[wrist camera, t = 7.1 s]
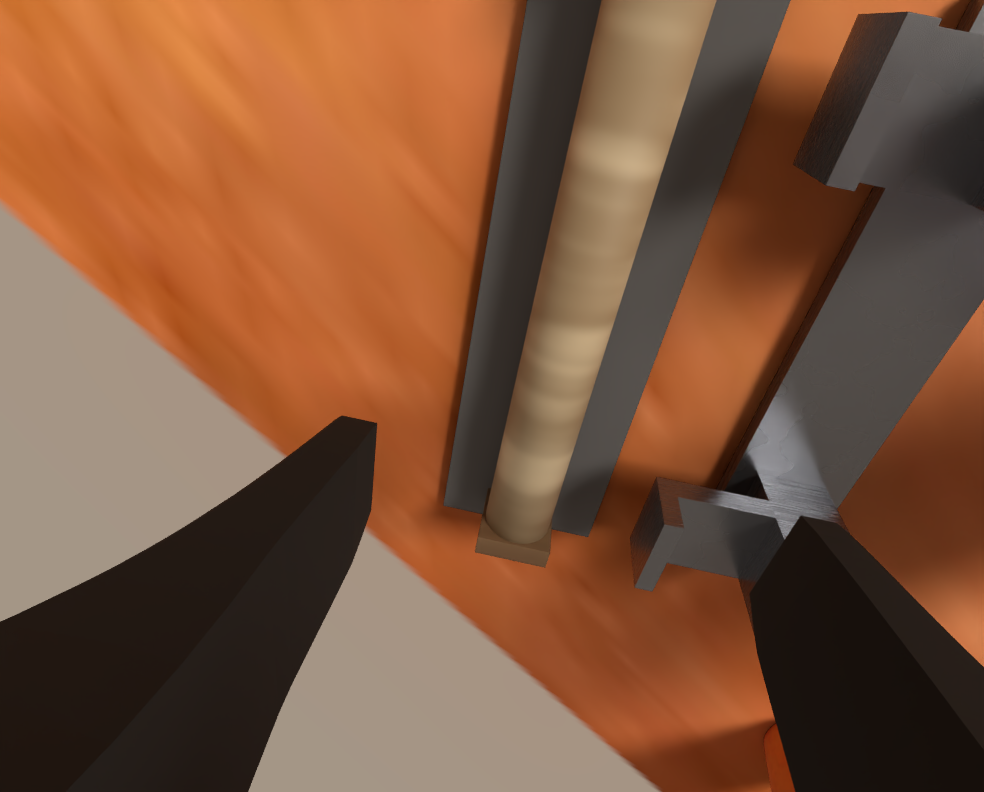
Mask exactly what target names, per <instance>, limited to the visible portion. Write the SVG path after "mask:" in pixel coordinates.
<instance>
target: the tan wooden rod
mask: <svg viewBox="0 0 984 792" xmlns="http://www.w3.org/2000/svg"><path fill="white" fill-rule="evenodd" d="M715 4H716V0H602V1H601V5H600V10H599V14H598V19H597V23H596V27H595V32H594V36H593V41H592V45H591V49H590V54H589V58H588V63H587V67H586V72H585V76H584V80H583V85H582V89H581V94H580V98H579V103H578V107H577V111H576V116H575V120H574V125H573V129H572V134H571V138H570V142H569V147H568V151H567V156H566V160H565V165H564V169H563V173H562V178H561V182H560V187H559V191H558V196H557V200H556V204H555V209H554V213H553V218H552V222H551V227H550V231H549V235H548V240H547V244H546V249H545V253H544V258H543V262H542V266H541V271H540V275H539V280H538V284H537V289H536V293H535V297H534V302H533V306H532V311H531V315H530V319H529V324H528V328H527V333H526V337H525V342H524V346H523V350H522V355H521V359H520V364H519V368H518V373H517V377H516V381H515V386H514V390H513V395H512V399H511V404H510V408H509V412H508V417H507V421H506V426H505V430H504V435H503V439H502V443H501V448H500V452H499V457H498V461H497V466H496V470H495V474H494V479H493V483H492V488H488V491H487V496H486V500H485V505H484V510H483V515H482V519H481V524H480V529H479V534H478V539H477V544H476V549H475V552H476V553H481V554H486V555H490V556H495V557H499V558H504V559H508V560H513V561H517V562H522V563H526V564H531V565H535V566H540V567H544V568H545V566H546V563H547V560H548V557H549V554H550V545H551V528H552V516H553V513H554V510H555V507H556V504H557V500H558V497H559V494H560V491H561V488H562V485H563V482H564V478H565V475H566V472H567V469H568V466H569V463H570V460H571V456H572V453H573V450H574V447H575V444H576V441H577V438H578V434H579V431H580V428H581V425H582V422H583V419H584V416H585V412H586V409H587V406H588V403H589V400H590V397H591V394H592V390H593V387H594V384H595V381H596V378H597V375H598V372H599V368H600V365H601V362H602V359H603V356H604V353H605V350H606V346H607V343H608V340H609V337H610V334H611V331H612V327H613V324H614V321H615V318H616V315H617V312H618V309H619V305H620V302H621V299H622V296H623V293H624V290H625V287H626V283H627V280H628V277H629V274H630V271H631V268H632V265H633V261H634V258H635V255H636V252H637V249H638V246H639V243H640V239H641V236H642V233H643V230H644V227H645V224H646V221H647V217H648V214H649V211H650V208H651V205H652V202H653V199H654V195H655V192H656V189H657V186H658V183H659V180H660V177H661V173H662V170H663V167H664V164H665V161H666V158H667V155H668V151H669V148H670V145H671V142H672V139H673V136H674V133H675V129H676V126H677V123H678V120H679V117H680V114H681V111H682V107H683V104H684V101H685V98H686V95H687V92H688V89H689V85H690V82H691V79H692V76H693V73H694V70H695V66H696V63H697V60H698V57H699V54H700V51H701V48H702V44H703V41H704V38H705V35H706V32H707V29H708V26H709V22H710V19H711V16H712V13H713V10H714V7H715Z"/></svg>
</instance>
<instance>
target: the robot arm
mask: <svg viewBox="0 0 984 792" xmlns="http://www.w3.org/2000/svg"><path fill="white" fill-rule="evenodd" d="M376 433H377V423H374V422H369V421H365V420H360V419H356V418H351V417H346V416H341V417H339V418H337V419H336V420H334V421H333V422H332V423H330V424H329V425H328V426H326V427H325V428H324V429H323V430H321V431H320V432H319V433H318V434H316V435H315V436H314V437H312V438H311V439H310V440H309V441H307V442H306V443H305V444H303V445H302V446H301V447H299V448H298V449H297V450H296V451H294V452H293V453H292V454H290V455H289V456H288V457H286V458H285V459H284V460H282V461H281V462H280V463H278V464H277V465H275V466H274V467H273V468H271V469H270V470H268V471H267V472H266V473H264V474H263V475H261V476H260V477H259V478H258V479H256V480H255V481H253V482H252V483H250V484H249V485H248V486H246V487H245V488H243V489H242V490H240V491H239V492H237V493H236V494H235V495H233V496H231V497H230V498H228V499H227V500H225V501H224V502H222V503H221V504H219V505H218V506H216V507H215V508H213V509H211V510H210V511H208V512H207V513H205V514H204V515H202V516H201V517H199V518H198V519H196V520H194V521H193V522H191V523H190V524H188V525H187V526H185V527H183V528H182V529H180V530H179V531H177V532H175V533H173V534H172V535H170V536H169V537H167V538H165V539H163V540H162V541H160V542H158V543H156V544H155V545H153V546H151V547H150V548H148V549H146V550H144V551H142V552H140V553H139V554H137V555H135V556H133V557H131V558H129V559H128V560H126V561H124V562H122V563H121V564H119V565H117V566H115V567H113V568H111V569H109V570H107V571H105V572H103V573H101V574H99V575H98V576H95V577H94V578H91V579H90V580H87V581H85V582H83V583H81V584H80V585H77V586H75V587H73V588H71V589H69V590H67V591H65V592H63V593H61V594H58V595H56V596H54V597H52V598H50V599H48V600H46V601H44V602H42V603H40V604H38V605H36V606H33V607H31V608H29V609H27V610H25V611H23V612H21V613H19V614H17V615H15V616H12V617H10V618H8V619H6V620H3V621H1V622H0V792H248V790H249V788H250V785H251V783H252V780H253V777H254V775H255V772H256V770H257V767H258V765H259V762H260V760H261V757H262V755H263V752H264V749H265V747H266V744H267V742H268V739H269V737H270V734H271V731H272V729H273V727H274V724H275V721H276V719H277V716H278V714H279V712H280V709H281V707H282V705H283V703H284V700H285V698H286V696H287V694H288V691H289V689H290V687H291V685H292V683H293V681H294V679H295V677H296V675H297V673H298V671H299V669H300V667H301V665H302V663H303V661H304V659H305V657H306V655H307V653H308V651H309V649H310V647H311V645H312V643H313V641H314V639H315V637H316V635H317V633H318V631H319V629H320V627H321V625H322V623H323V620H324V619H325V617H326V615H327V613H328V611H329V609H330V607H331V605H332V603H333V601H334V599H335V597H336V595H337V593H338V591H339V589H340V587H341V585H342V582H343V580H344V578H345V576H346V574H347V572H348V570H349V568H350V566H351V564H352V562H353V559H354V556H355V553H356V551H357V548H358V545H359V543H360V540H361V537H362V535H363V532H364V529H365V526H366V523H367V520H368V517H369V515H370V512H371V505H372V490H373V476H374V461H375V447H376ZM749 594H750V603H751V611H752V620H753V628H754V635H755V641H756V648H757V654H758V658H759V661H760V665H761V669H762V673H763V677H764V681H765V684H766V688H767V692H768V695H769V699H770V703H771V706H772V710H773V714H774V717H775V721H776V724H777V728H778V732H779V735H780V739H781V742H782V746H783V750H784V753H785V757H786V760H787V764H788V768H789V771H790V775H791V778H792V782H793V786H794V789H795V792H984V667H983V666H982V665H981V664H980V663H979V662H978V661H977V660H976V659H975V658H974V657H973V656H972V655H971V654H969V653H968V652H967V651H966V650H965V649H964V648H963V647H962V646H961V645H960V644H959V643H958V642H957V641H956V640H955V639H954V638H953V637H952V636H951V635H950V634H949V633H948V632H947V631H946V630H945V629H944V628H943V627H942V626H941V625H940V624H939V623H938V622H937V621H936V620H935V619H934V618H933V617H932V616H931V615H930V614H929V613H928V612H927V611H926V610H925V609H924V608H923V607H922V606H921V605H920V604H919V603H918V602H917V601H916V600H915V599H914V598H913V597H912V596H911V595H910V594H909V593H908V592H907V591H906V590H905V589H904V587H903V586H902V585H901V584H900V583H899V582H898V581H897V580H896V579H895V578H894V577H893V576H892V575H891V574H890V573H889V572H888V571H887V570H886V569H885V568H884V567H883V566H882V565H881V564H880V563H879V562H878V561H877V560H876V559H875V558H874V557H873V556H872V555H871V554H870V553H869V552H868V551H867V550H866V549H865V548H864V547H863V546H862V545H861V544H860V543H859V542H857V541H856V540H855V539H854V538H853V537H852V536H851V535H850V534H849V533H848V532H847V531H846V530H844V529H843V528H842V527H841V526H840V525H839V524H838V523H834V522H830V521H825V520H820V519H816V518H811V517H807V516H802V515H801V516H800V517H799V519H798V520H797V522H796V523H795V525H794V526H793V528H792V529H791V531H790V532H789V534H788V535H787V537H786V538H785V540H784V541H783V543H782V545H781V546H780V548H779V549H778V551H777V552H776V554H775V555H774V557H773V558H772V560H771V561H770V563H769V564H768V566H767V567H766V569H765V570H764V572H763V573H762V575H761V577H760V578H759V580H758V581H757V583H756V584H755V586H754V587H753V589H752V590H751V592H750V593H749Z"/></svg>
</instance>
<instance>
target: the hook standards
mask: <svg viewBox="0 0 984 792" xmlns="http://www.w3.org/2000/svg"><path fill="white" fill-rule="evenodd" d="M941 20H942V18H937V17H932V16H927V15H922V14H917V13H912V12H895V13H875V14H858V16H857V18H856V21H855V23H854V25H853V28H852V30H851V32H850V35H849V37H848V39H847V41H846V44H845V46H844V48H843V51H842V53H841V55H840V57H839V60H838V62H837V64H836V67H835V69H834V71H833V74H832V76H831V78H830V80H829V83H828V85H827V87H826V90H825V92H824V94H823V96H822V99H821V101H820V103H819V106H818V108H817V110H816V112H815V115H814V117H813V119H812V122H811V124H810V126H809V129H808V131H807V133H806V135H805V138H804V140H803V142H802V145H801V147H800V149H799V151H798V154H797V156H796V158H795V161H794V163H793V165H795V166H796V167H798V168H800V169H801V170H803V171H804V172H806V173H807V174H809V175H810V176H812V177H814V178H815V179H817V180H818V181H820V182H821V183H823V184H824V185H826V186H831V187H836V188H841V189H846V190H850V191H855V190H856V188H857V186H858V184H859V183H864V184H868V185H873V186H874V188H873V189H872V191H871V193H870V195H869V197H868V199H867V201H866V203H865V205H864V207H863V209H862V211H861V212H860V214H859V216H858V218H857V220H856V222H855V224H854V226H853V228H852V230H851V232H850V234H849V235H848V237H847V239H846V241H845V243H844V245H843V247H842V249H841V251H840V253H839V255H838V257H837V258H836V260H835V262H834V264H833V266H832V268H831V270H830V272H829V274H828V276H827V278H826V280H825V281H824V283H823V285H822V287H821V289H820V291H819V293H818V295H817V297H816V299H815V301H814V303H813V304H812V306H811V308H810V310H809V312H808V314H807V316H806V318H805V320H804V322H803V324H802V326H801V327H800V329H799V331H798V333H797V335H796V337H795V339H794V341H793V343H792V345H791V347H790V349H789V350H788V352H787V354H786V356H785V358H784V360H783V362H782V364H781V366H780V368H779V370H778V372H777V373H776V375H775V377H774V379H773V381H772V383H771V385H770V387H769V389H768V391H767V393H766V395H765V396H764V398H763V400H762V402H761V404H760V406H759V408H758V410H757V412H756V414H755V416H754V418H753V419H752V421H751V423H750V425H749V427H748V429H747V431H746V433H745V435H744V437H743V439H742V441H741V442H740V444H739V446H738V448H737V450H736V452H735V454H734V456H733V458H732V460H731V462H730V464H729V465H728V467H727V469H726V471H725V473H724V475H723V477H722V479H721V481H720V483H719V485H718V487H717V488H716V489H711V488H707V487H702V486H697V485H693V484H688V483H684V482H679V481H674V480H670V479H665V478H660V477H656V479H655V482H654V484H653V486H652V489H651V491H650V493H649V495H648V498H647V500H646V502H645V505H644V507H643V509H642V511H641V514H640V516H639V518H638V521H637V523H636V525H635V527H634V530H633V532H632V534H631V537H630V545H631V555H632V566H633V577H634V587H635V588H639V589H643V590H648V591H653V589H654V587H655V585H656V583H657V581H658V579H659V577H660V575H661V573H662V572H663V570H664V568H665V566H666V564H667V563H670V564H675V565H679V566H684V567H688V568H693V569H697V570H702V571H707V572H711V573H716V574H720V575H725V576H729V577H734V578H738V579H739V582H740V586H741V589H742V593H743V596H744V600H745V603H746V607H747V611H748V614H749V618H750V621H751V625H752V628H753V620H752V611H751V603H750V594H749V593H750V592H751V590H752V589H753V587H754V586H755V584H756V583H757V581H758V580H759V578H760V577H761V575H762V573H763V572H764V570H765V569H766V567H767V566H768V564H769V563H770V561H771V560H772V558H773V557H774V555H775V554H776V552H777V551H778V549H779V548H780V546H781V545H782V543H783V541H784V540H785V538H786V537H787V535H788V534H789V532H790V531H791V529H792V528H793V526H794V525H795V523H796V522H797V520H798V519H799V517H800V516H801V515H802V516H807V517H811V518H816V519H820V520H825V521H830V522H834V523H838V524H839V525H840V526H841V527H842V528H843V529H844V530H846V531H847V532H848V533H849V531H848V529H847V527H846V525H845V524H844V522H843V520H842V518H841V516H840V514H839V512H838V510H837V508H838V507H839V506H840V504H841V503H842V501H843V500H844V498H845V497H846V496H847V494H848V493H849V491H850V490H851V488H852V487H853V486H854V484H855V483H856V481H857V480H858V478H859V477H860V476H861V474H862V473H863V471H864V470H865V468H866V467H867V466H868V464H869V463H870V461H871V460H872V458H873V457H874V456H875V454H876V453H877V451H878V450H879V448H880V447H881V446H882V444H883V443H884V441H885V440H886V438H887V437H888V436H889V434H890V433H891V431H892V430H893V428H894V427H895V426H896V424H897V423H898V421H899V420H900V418H901V417H902V416H903V414H904V413H905V411H906V410H907V408H908V407H909V405H910V404H911V403H912V401H913V400H914V398H915V397H916V395H917V394H918V393H919V391H920V390H921V388H922V387H923V385H924V384H925V383H926V381H927V380H928V378H929V377H930V375H931V374H932V373H933V371H934V370H935V368H936V367H937V365H938V364H939V363H940V361H941V360H942V358H943V357H944V355H945V354H946V353H947V351H948V350H949V348H950V347H951V345H952V344H953V343H954V341H955V340H956V338H957V337H958V335H959V334H960V333H961V331H962V330H963V328H964V327H965V325H966V324H967V323H968V321H969V320H970V318H971V317H972V315H973V314H974V313H975V311H976V310H977V308H978V307H979V305H980V304H981V303H982V301H983V300H984V0H971V2H970V3H969V5H968V7H967V9H966V11H965V13H964V15H963V17H962V19H961V21H960V23H959V25H958V26H957V28H956V30H955V29H950V28H945V27H940V26H939V24H940V22H941ZM849 534H850V533H849ZM753 632H754V628H753Z"/></svg>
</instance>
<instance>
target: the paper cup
mask: <svg viewBox="0 0 984 792" xmlns="http://www.w3.org/2000/svg"><path fill="white" fill-rule="evenodd" d="M764 749H765V756H766V763H767V768H768V774H769V780H770V785H771V791H772V792H795V789H794V786H793V782H792V778H791V775H790V771H789V768H788V764H787V760H786V757H785V753H784V750H783V746H782V742H781V739H780V735H779V732H778V728H777V724H775V725H773V726H772V727H771V728H770V729H769V730H768V731H767V733H766V734H765V737H764Z"/></svg>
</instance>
